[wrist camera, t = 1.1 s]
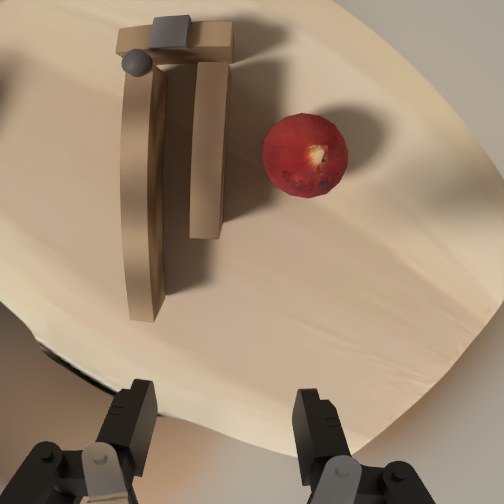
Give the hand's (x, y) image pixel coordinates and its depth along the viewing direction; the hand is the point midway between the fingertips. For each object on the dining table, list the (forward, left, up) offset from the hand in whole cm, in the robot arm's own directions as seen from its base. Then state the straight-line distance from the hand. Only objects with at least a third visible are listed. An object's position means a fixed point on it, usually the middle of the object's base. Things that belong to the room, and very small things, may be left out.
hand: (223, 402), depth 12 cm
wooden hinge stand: (-5, +11, -16) cm, 20 cm away
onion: (+4, +10, -16) cm, 19 cm away
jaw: (-7, +7, -15) cm, 18 cm away
